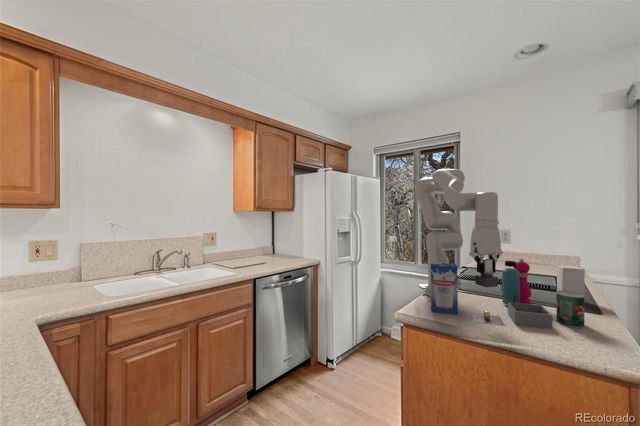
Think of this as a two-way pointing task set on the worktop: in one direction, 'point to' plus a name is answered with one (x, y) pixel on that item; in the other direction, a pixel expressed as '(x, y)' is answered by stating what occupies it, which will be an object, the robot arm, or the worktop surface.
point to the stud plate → (492, 320)
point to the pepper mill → (523, 281)
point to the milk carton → (444, 288)
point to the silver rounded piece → (487, 275)
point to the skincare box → (570, 279)
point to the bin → (529, 315)
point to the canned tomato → (570, 309)
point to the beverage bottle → (510, 283)
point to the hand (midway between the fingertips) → (486, 271)
